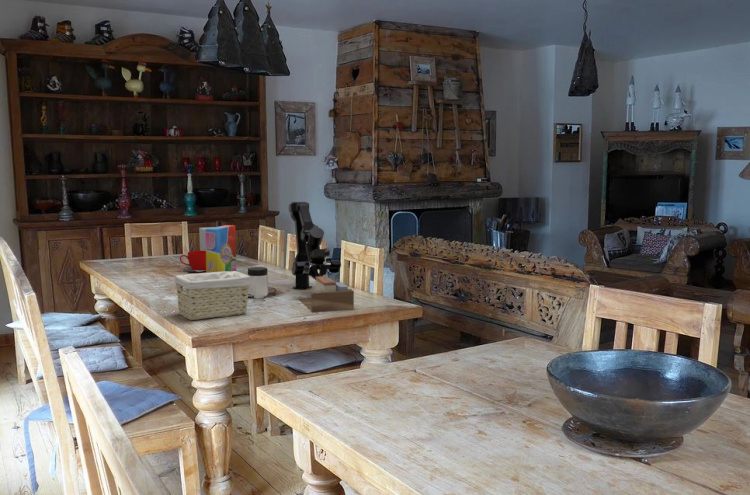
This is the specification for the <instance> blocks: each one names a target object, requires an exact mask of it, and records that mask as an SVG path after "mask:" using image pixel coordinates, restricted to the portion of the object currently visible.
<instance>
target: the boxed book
mask: <svg viewBox="0 0 750 495" xmlns="http://www.w3.org/2000/svg"><path fill="white" fill-rule="evenodd" d="M336 282H337V281H334V279H332V278H330V277H329V276H326V275H323V276H319V277H316V280H315V290H316V289H319V290H320V291H321V292H334V291H336Z"/></svg>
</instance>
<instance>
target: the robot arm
mask: <svg viewBox="0 0 750 495" xmlns="http://www.w3.org/2000/svg"><path fill="white" fill-rule="evenodd" d="M288 212H289V214H290V218H291V220H293V222H294V230H295V243H296V255H295V257H294V259H293V261H294V262H293V263H292V268H291V274H292V275H293V276H295V283H294V284H295V286H293V287H292V289H296V290H307V289H310V288H311V289H312V287H313V286H312V285H310V277H311V278H312V279H314V280H315V281H316V277H319V276H326V275H327V271H328V272H329V273H330V274H338V273H339V272H340V269H341V266H342V262H341V261H340V260H339V259H334V260H333V259H331V260H330V261H329V263H325V262H326V257H330V255H331V253H330V249H329V247H324V248H321V246H322V243H323V239H324V235H325V232H324V230H323V229H322V228H320V227H319V225H316V224H314V223H313V219H312V216H311V212H310V203H309V202H306V201H292V202H290V204H288Z"/></svg>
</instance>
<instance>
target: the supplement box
mask: <svg viewBox="0 0 750 495" xmlns="http://www.w3.org/2000/svg"><path fill="white" fill-rule="evenodd" d="M214 227H215V226H214ZM214 227H213V226H210V227H199V228H198V231H199V232H198V233H199V251H206V235H205V229H208V228H214Z"/></svg>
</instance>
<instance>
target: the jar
mask: <svg viewBox="0 0 750 495" xmlns="http://www.w3.org/2000/svg"><path fill="white" fill-rule="evenodd" d="M247 275H248V276H250V285H249V289H248V294H251V295H254V298H255V300H258V299H259V300H260V299H266V296H267V295H269V275H268V268H267V267H265V266H254V267H253V266H252V267H248V268H247ZM254 298H253V299H254Z"/></svg>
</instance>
